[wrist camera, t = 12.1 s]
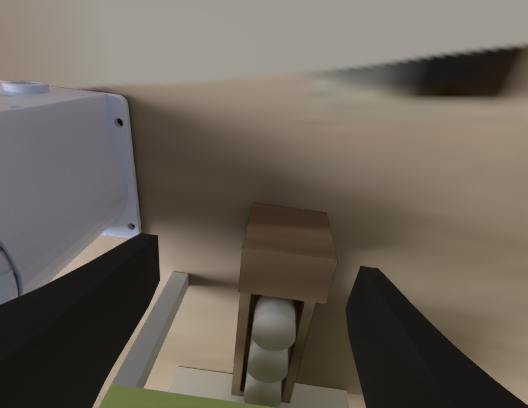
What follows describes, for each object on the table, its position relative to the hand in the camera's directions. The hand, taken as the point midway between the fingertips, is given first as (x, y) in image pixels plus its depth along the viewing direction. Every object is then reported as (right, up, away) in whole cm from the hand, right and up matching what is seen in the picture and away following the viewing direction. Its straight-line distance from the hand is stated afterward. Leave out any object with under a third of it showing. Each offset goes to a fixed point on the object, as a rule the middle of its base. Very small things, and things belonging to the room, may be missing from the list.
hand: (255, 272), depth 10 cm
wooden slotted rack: (+1, -5, +12) cm, 13 cm away
